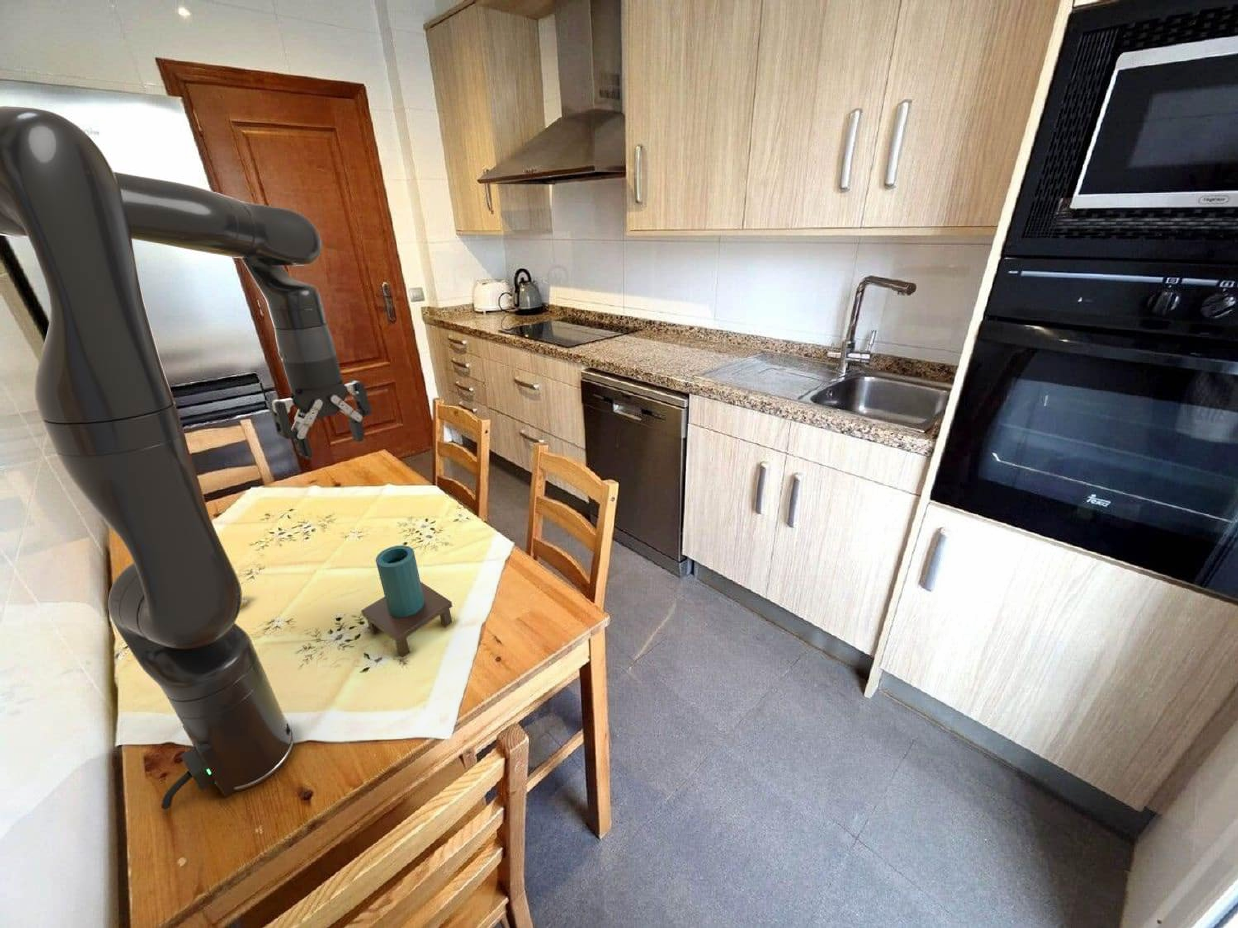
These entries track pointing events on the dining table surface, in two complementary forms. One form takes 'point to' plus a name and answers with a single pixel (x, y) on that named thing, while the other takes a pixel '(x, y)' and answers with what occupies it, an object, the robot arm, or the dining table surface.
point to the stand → (407, 618)
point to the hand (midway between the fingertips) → (334, 448)
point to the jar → (400, 580)
